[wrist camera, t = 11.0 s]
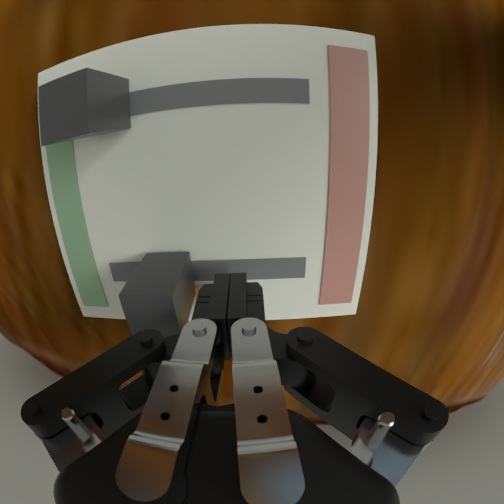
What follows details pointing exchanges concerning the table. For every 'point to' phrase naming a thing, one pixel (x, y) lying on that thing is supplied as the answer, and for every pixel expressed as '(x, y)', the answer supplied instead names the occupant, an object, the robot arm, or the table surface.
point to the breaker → (83, 106)
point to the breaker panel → (226, 166)
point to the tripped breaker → (159, 293)
